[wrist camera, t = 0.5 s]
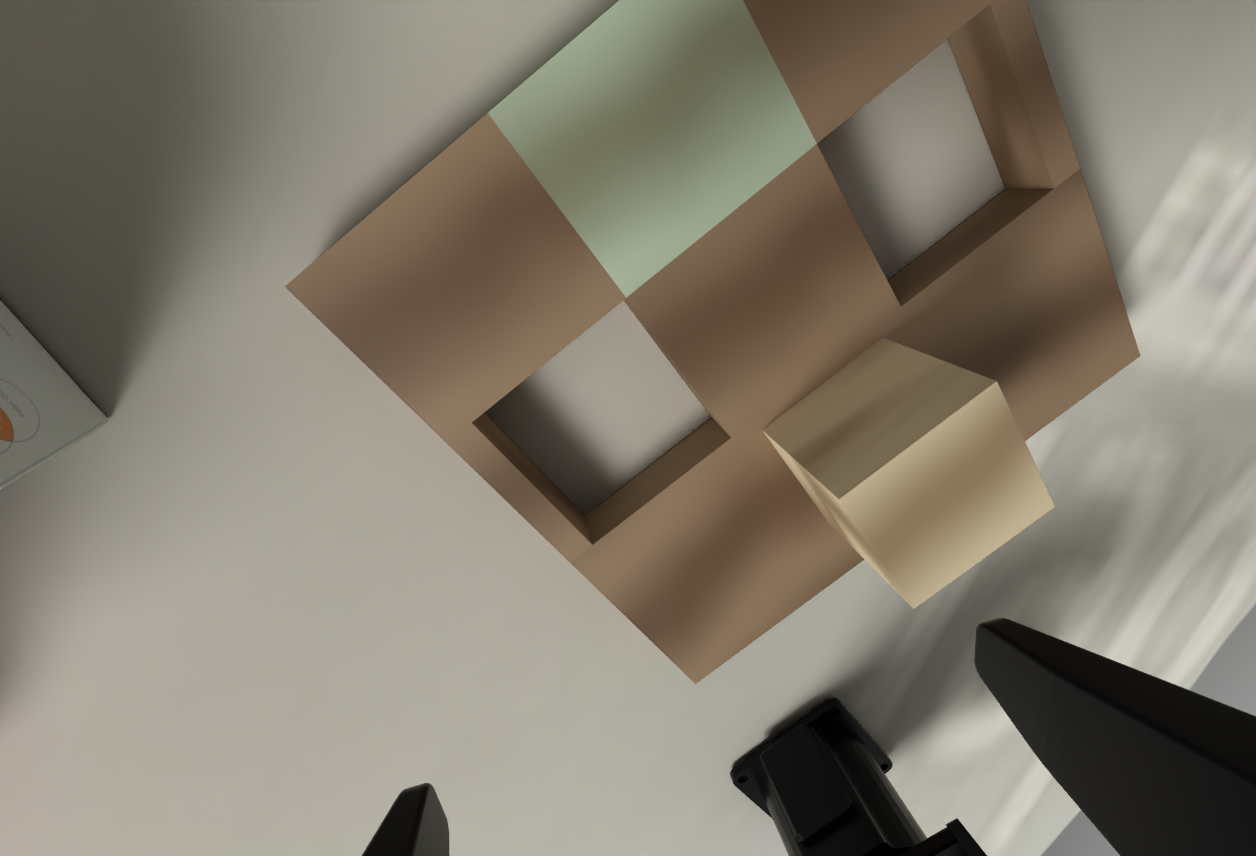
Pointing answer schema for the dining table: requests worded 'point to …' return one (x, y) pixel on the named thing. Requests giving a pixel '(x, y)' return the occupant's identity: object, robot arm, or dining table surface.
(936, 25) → the trap board
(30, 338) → the small box
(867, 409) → the maple block
